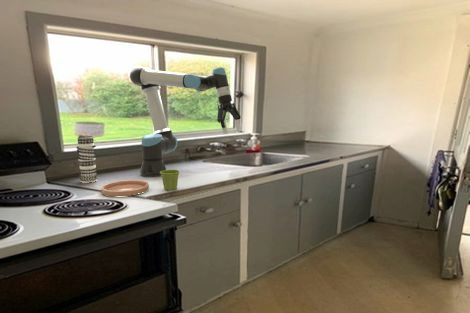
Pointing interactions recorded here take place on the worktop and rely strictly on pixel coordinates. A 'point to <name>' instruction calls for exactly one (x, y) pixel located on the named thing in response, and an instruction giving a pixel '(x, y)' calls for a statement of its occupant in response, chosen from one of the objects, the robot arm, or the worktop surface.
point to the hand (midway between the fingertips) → (232, 132)
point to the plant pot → (170, 179)
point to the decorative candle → (87, 158)
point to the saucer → (125, 188)
